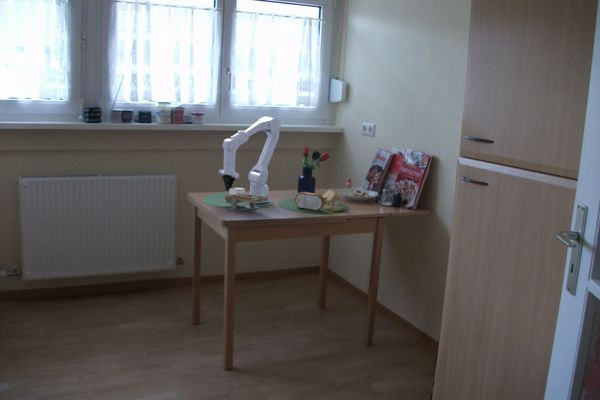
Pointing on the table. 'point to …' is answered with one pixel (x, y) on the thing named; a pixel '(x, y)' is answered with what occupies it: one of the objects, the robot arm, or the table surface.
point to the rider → (237, 192)
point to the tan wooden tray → (247, 198)
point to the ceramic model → (331, 201)
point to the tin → (309, 201)
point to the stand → (235, 208)
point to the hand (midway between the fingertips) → (228, 190)
